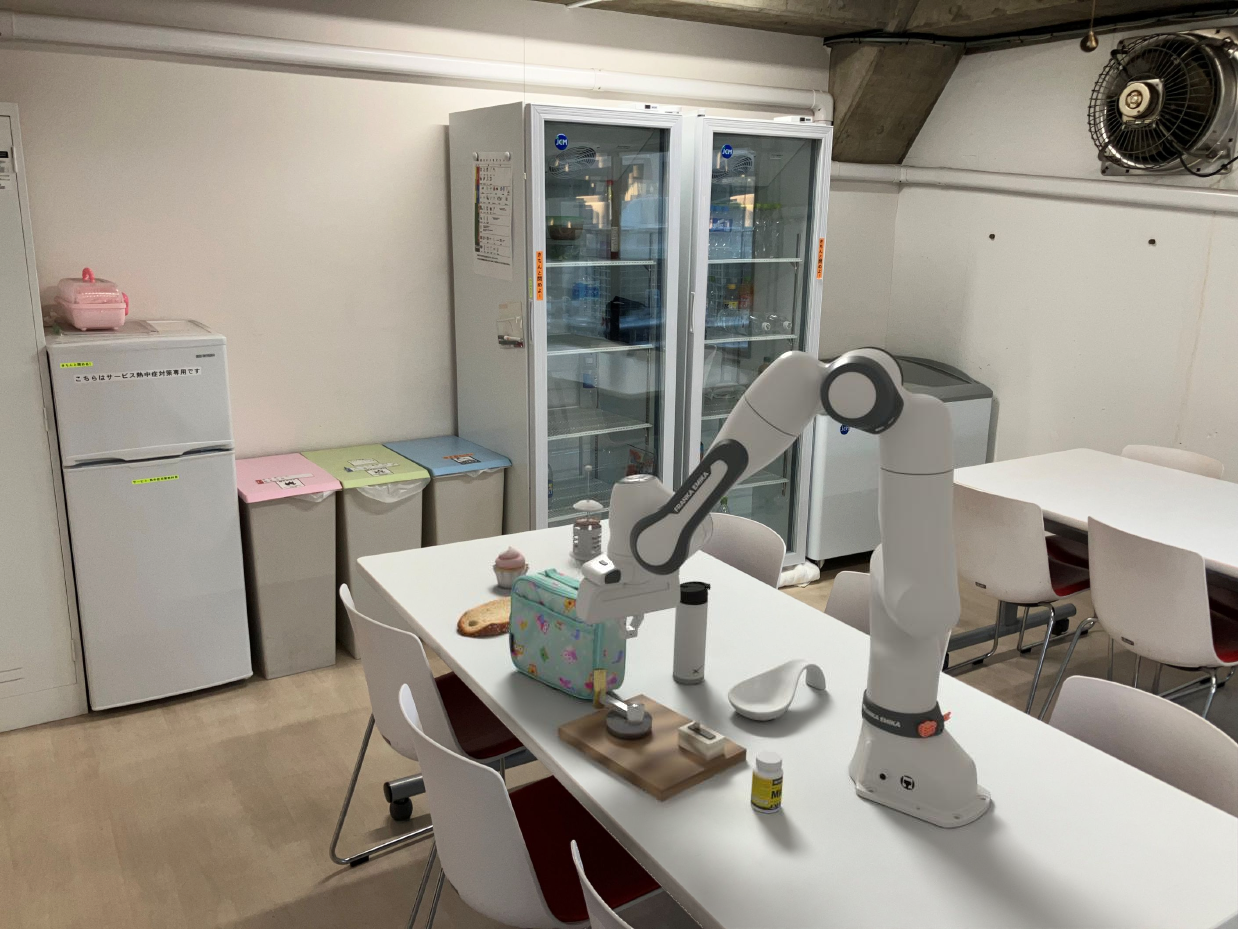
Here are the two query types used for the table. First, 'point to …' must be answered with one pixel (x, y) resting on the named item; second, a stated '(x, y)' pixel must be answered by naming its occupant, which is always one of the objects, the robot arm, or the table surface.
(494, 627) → the slice of bread
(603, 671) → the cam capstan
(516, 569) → the cupcake
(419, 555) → the table surface
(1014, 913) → the table surface
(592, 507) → the french press
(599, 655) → the lunch box
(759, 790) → the supplement bottle
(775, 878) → the table surface
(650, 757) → the stand
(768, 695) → the spoon rest
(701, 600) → the travel mug
